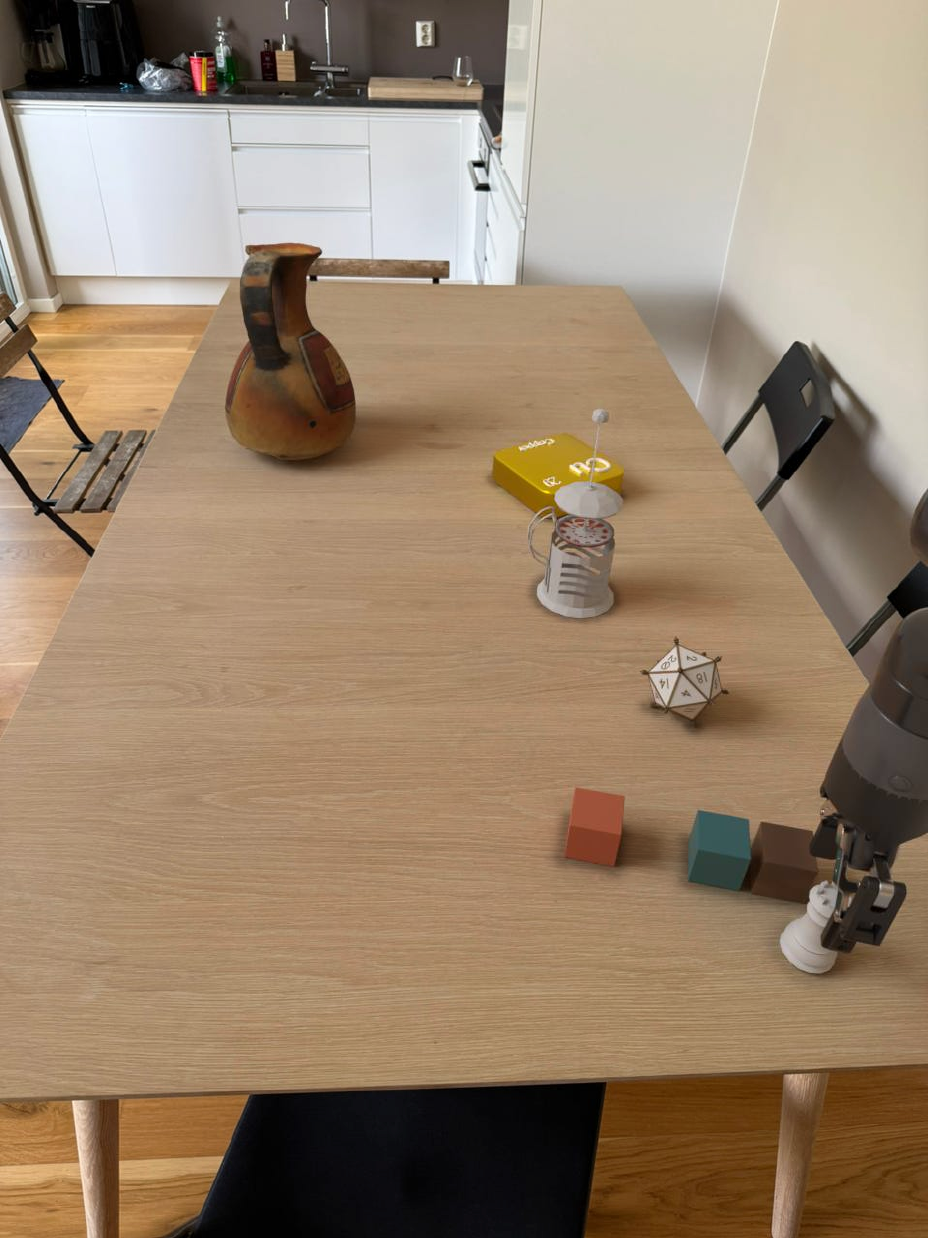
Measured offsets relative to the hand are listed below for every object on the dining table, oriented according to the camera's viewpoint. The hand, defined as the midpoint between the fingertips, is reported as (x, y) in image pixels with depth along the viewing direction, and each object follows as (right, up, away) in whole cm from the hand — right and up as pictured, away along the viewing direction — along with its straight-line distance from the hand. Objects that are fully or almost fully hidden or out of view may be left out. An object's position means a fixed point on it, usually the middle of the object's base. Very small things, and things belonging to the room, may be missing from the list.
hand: (827, 898), depth 69 cm
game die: (-5, +12, +27) cm, 30 cm away
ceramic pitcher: (-55, +49, +72) cm, 103 cm away
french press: (-15, +25, +43) cm, 52 cm away
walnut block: (0, -1, +10) cm, 10 cm away
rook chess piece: (0, -6, +5) cm, 8 cm away
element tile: (-14, +41, +65) cm, 78 cm away
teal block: (-6, -1, +11) cm, 12 cm away
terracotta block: (-17, +1, +12) cm, 21 cm away
